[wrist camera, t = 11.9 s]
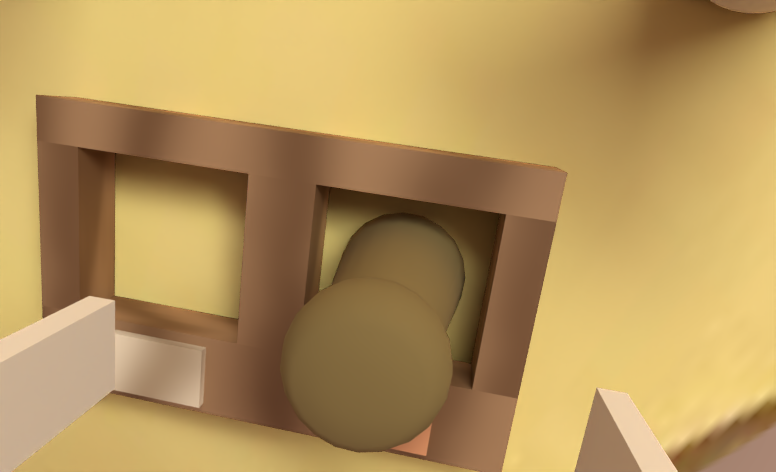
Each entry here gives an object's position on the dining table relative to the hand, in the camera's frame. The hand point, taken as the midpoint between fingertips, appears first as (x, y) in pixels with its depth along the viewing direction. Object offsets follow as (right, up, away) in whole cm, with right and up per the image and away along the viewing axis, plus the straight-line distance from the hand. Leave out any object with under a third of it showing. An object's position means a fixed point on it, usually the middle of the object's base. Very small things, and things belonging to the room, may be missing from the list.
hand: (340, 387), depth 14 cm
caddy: (-4, +2, +12) cm, 12 cm away
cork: (+2, +2, +11) cm, 11 cm away
